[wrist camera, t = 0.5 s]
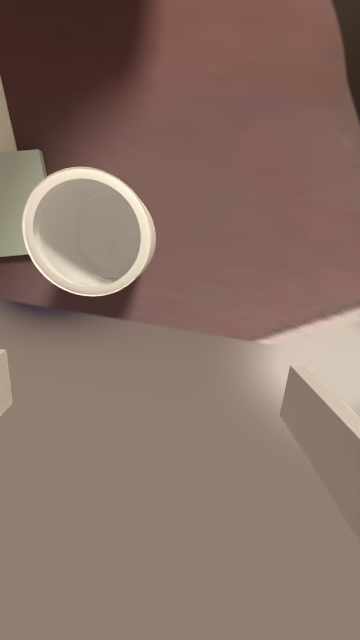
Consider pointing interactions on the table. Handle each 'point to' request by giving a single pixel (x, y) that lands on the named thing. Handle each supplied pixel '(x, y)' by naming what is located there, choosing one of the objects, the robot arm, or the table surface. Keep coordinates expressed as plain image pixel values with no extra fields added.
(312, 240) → the table surface
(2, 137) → the tile
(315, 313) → the table surface
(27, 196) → the coaster
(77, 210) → the jar
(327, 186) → the table surface
